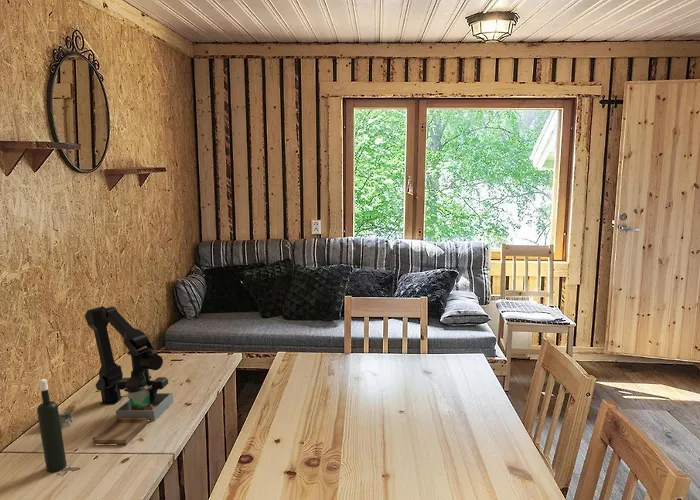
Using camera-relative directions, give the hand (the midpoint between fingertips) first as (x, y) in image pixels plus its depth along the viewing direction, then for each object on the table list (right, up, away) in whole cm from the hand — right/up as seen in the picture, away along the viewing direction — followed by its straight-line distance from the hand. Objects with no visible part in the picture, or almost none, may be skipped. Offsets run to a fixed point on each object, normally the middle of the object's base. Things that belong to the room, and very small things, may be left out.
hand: (145, 404), depth 218 cm
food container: (0, -3, 0) cm, 3 cm away
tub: (0, -3, 0) cm, 3 cm away
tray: (-2, -6, -17) cm, 18 cm away
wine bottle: (-15, -10, -38) cm, 42 cm away
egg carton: (-31, -7, -7) cm, 32 cm away
